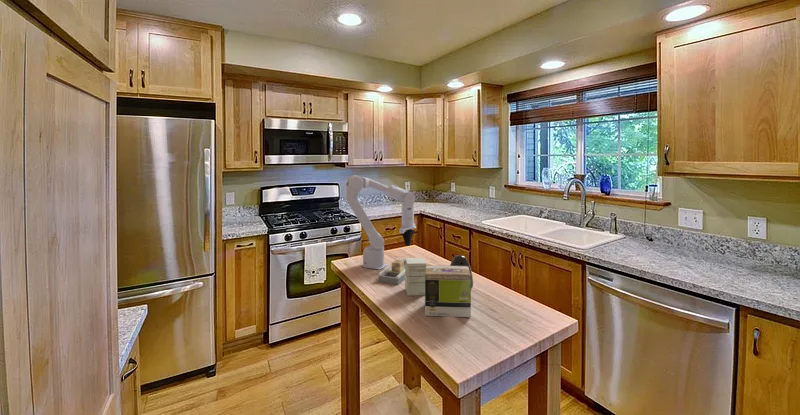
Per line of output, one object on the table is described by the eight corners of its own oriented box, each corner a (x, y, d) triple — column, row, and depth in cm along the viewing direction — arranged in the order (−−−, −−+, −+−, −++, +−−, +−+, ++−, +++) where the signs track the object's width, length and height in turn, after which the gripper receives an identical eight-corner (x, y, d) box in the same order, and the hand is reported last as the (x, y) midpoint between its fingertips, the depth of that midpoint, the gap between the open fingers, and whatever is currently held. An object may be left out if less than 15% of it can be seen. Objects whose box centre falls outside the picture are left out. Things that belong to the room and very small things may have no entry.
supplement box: (404, 288, 143) (404, 257, 141) (423, 287, 144) (423, 257, 142) (406, 295, 136) (406, 263, 134) (426, 295, 137) (426, 263, 135)
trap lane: (378, 281, 151) (378, 273, 150) (402, 264, 172) (402, 257, 172) (398, 284, 147) (398, 276, 147) (419, 267, 169) (419, 260, 168)
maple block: (391, 271, 156) (391, 262, 155) (395, 268, 159) (395, 259, 159) (400, 272, 154) (400, 263, 154) (403, 269, 158) (403, 260, 157)
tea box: (468, 305, 128) (469, 265, 125) (470, 318, 118) (472, 275, 116) (425, 303, 129) (425, 263, 127) (424, 316, 119) (424, 273, 117)
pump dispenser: (449, 299, 132) (450, 259, 130) (443, 289, 143) (443, 251, 140) (476, 298, 133) (478, 259, 131) (468, 288, 144) (469, 251, 141)
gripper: (409, 220, 162) (409, 249, 164) (421, 215, 175) (421, 242, 177) (395, 219, 165) (395, 248, 167) (407, 214, 178) (407, 241, 180)
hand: (407, 245), depth 172 cm, fingers closed
